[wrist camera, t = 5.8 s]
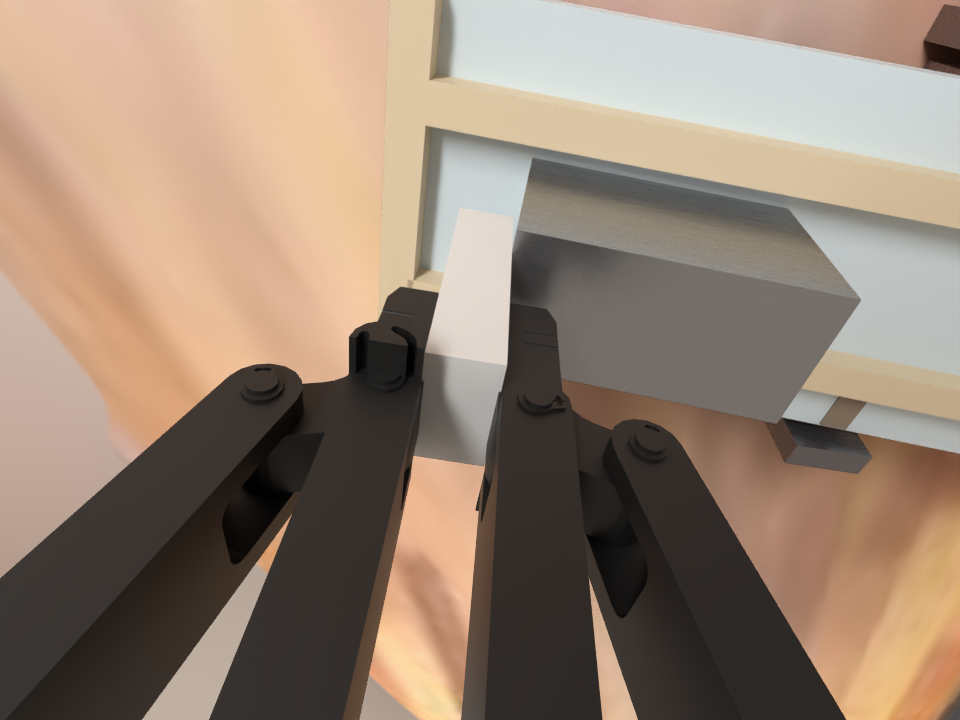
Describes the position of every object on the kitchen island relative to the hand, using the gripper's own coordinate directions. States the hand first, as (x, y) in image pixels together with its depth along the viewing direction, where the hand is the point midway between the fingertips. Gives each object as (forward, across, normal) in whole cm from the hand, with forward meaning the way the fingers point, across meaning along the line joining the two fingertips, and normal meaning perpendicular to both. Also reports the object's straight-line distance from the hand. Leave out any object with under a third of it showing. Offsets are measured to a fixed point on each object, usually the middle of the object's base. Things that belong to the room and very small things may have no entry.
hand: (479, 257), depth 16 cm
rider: (+3, +5, 0) cm, 6 cm away
